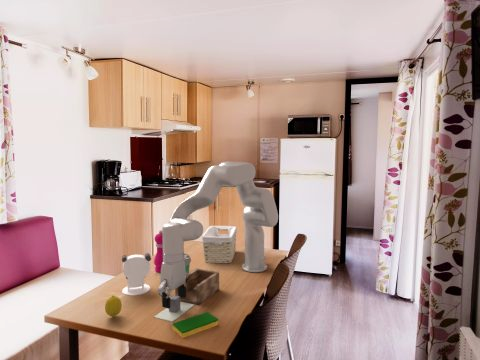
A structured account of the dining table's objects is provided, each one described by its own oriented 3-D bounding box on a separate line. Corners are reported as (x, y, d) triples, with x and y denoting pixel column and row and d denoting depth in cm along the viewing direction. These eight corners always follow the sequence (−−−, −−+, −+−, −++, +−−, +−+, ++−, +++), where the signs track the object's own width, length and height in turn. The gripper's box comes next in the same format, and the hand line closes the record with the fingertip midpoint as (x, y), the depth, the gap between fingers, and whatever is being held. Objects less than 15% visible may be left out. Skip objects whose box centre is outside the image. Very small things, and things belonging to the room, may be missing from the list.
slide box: (197, 285, 153) (196, 268, 152) (219, 289, 148) (219, 272, 148) (175, 299, 139) (175, 281, 138) (199, 305, 134) (198, 286, 133)
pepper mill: (171, 268, 173) (171, 229, 171) (164, 273, 167) (163, 232, 164) (159, 266, 176) (158, 227, 174) (151, 271, 169) (150, 231, 167)
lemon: (108, 313, 127) (107, 292, 126) (123, 313, 128) (122, 292, 127) (103, 321, 122) (102, 299, 121) (119, 320, 122) (118, 298, 121)
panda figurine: (150, 282, 156) (149, 250, 154) (152, 293, 145) (151, 258, 143) (122, 286, 152) (120, 252, 150) (122, 297, 141) (120, 261, 140)
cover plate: (177, 302, 137) (176, 288, 137) (194, 306, 134) (193, 291, 133) (154, 318, 125) (153, 303, 124) (172, 323, 121) (172, 307, 121)
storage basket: (232, 264, 179) (232, 236, 177) (201, 263, 181) (200, 235, 179) (237, 250, 203) (237, 225, 201) (209, 249, 204) (209, 225, 203)
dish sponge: (218, 325, 120) (218, 319, 119) (182, 339, 111) (182, 332, 111) (207, 317, 125) (207, 311, 125) (172, 330, 117) (172, 323, 117)
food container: (185, 284, 154) (185, 262, 153) (172, 283, 155) (172, 261, 154) (195, 274, 166) (194, 253, 165) (182, 273, 167) (182, 252, 166)
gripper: (179, 249, 136) (179, 291, 138) (149, 262, 121) (151, 310, 123) (195, 251, 133) (195, 294, 135) (167, 265, 118) (168, 314, 119)
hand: (174, 302), depth 129 cm, fingers open, 9 cm apart
